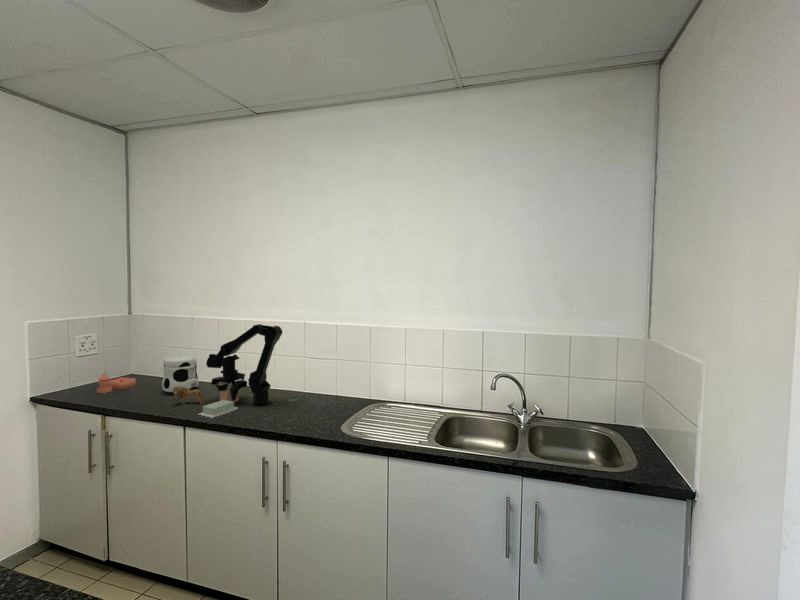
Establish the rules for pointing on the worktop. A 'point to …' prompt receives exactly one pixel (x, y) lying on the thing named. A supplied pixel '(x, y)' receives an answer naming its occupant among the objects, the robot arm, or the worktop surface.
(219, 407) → the grey scalloped base block
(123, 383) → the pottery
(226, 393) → the terracotta brick
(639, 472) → the worktop surface
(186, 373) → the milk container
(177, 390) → the lion figurine
